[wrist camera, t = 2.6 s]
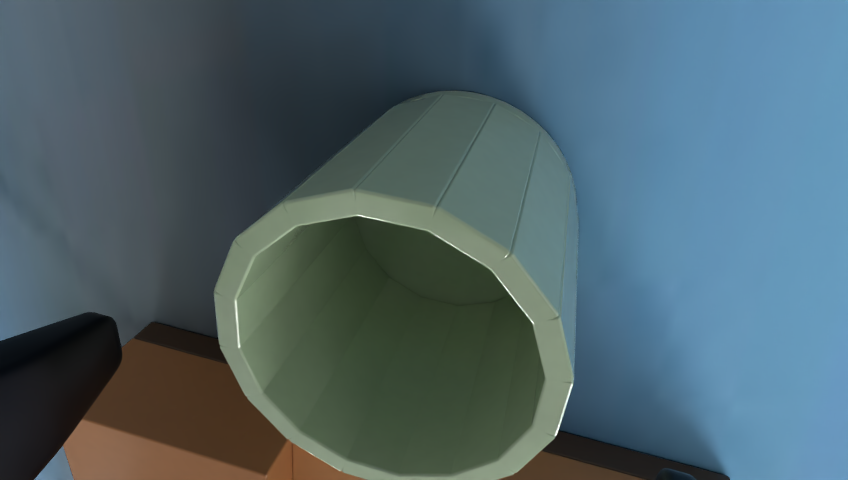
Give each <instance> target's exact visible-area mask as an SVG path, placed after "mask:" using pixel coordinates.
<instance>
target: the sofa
mask: <svg viewBox="0 0 848 480" xmlns="http://www.w3.org/2000/svg"><path fill="white" fill-rule="evenodd" d="M122 354H123V355H122V361H121V364H120V366H119V368H118V369H117V371H116V372H115V374H114V375H113V376H112V378H111V379H110V381H109V382H108V383H107V385H106V386H105V388H104V389H103V390H102V392H101V393H100V395H99V396H98V398H97V399H96V400H95V402H94V403H93V405H92V406H91V407H90V409H89V410H88V412H87V413H86V414H85V416H84V417H83V419H82V420H81V421H80V423H79V424H78V426H77V427H76V428H75V430H74V431H73V433H72V434H71V435H70V437H69V438H68V439H67V441H66V442H65V443H64V445H63V447H64V450H65V453H66V456H67V460H68V463H69V466H70V469H71V472H72V475H73V478H74V480H366V479H363V478H359V477H356V476H353V475H349V474H346V473H343V472H342V471H339V470H337V469H335V468H334V467H332V466H330V465H329V464H327V463H325V462H324V461H322V460H320V459H319V458H317V457H315V456H314V455H312V454H310V453H309V452H307V451H305V450H304V449H302V448H300V447H299V446H297V445H295V444H293V443H292V442H290V441H289V439H286V438H285V437H284V436H283V435H282V434H281V433H280V432H279V431H278V430H277V429H276V428H275V427H274V425H273V424H272V423H271V422H270V421H269V420H268V419H267V418H266V417H265V416H264V415H263V414H262V413H261V412H260V411H259V410H258V409H257V408H256V407H255V406H254V405H253V404H252V403H251V402H250V401H249V400H248V399H247V397H246V396H245V395H244V393H243V391H242V389H241V387H240V385H239V383H238V382H237V380H236V378H235V376H234V374H233V372H232V370H231V368H230V366H229V364H228V362H227V360H226V359H225V357H224V355H223V353H222V351H221V349H220V345H219V341H218V339H215V338H211V337H207V336H203V335H200V334H196V333H192V332H188V331H185V330H181V329H177V328H174V327H170V326H166V325H162V324H159V323H155V322H151V323H150V324H149V325H148V326H146V327H145V328H144V329H143V330H142V331H141V332H140V333H138V334H137V335H136V336H135V337H134V338H133V339H131V340H130V341H129V342H128V343H127V344H126V345H124V346H123V347H122ZM664 468H668V469H672V470H676V471H679V472H683V473H687V474H690V475H691V476H693V477H694V478H695V479H696V480H730V478H729V477H728V476H726V475H722V474H718V473H714V472H711V471H707V470H703V469H699V468H696V467H692V466H688V465H685V464H681V463H677V462H673V461H670V460H666V459H662V458H658V457H655V456H651V455H647V454H643V453H640V452H636V451H632V450H629V449H625V448H621V447H617V446H614V445H610V444H606V443H602V442H599V441H595V440H591V439H588V438H584V437H580V436H576V435H573V434H569V433H565V432H561V431H558V434H557V435H556V437H555V439H554V440H552V441H551V442H550V443H549V444H548V445H547V446H546V447H545V448H544V449H542V450H541V451H540V452H539V453H538V454H537V455H536V456H535V457H534V458H533V459H531V460H530V461H529V462H528V463H527V464H526V465H525V466H524V467H523V468H521V469H520V470H519V471H518V472H517V473H514V474H513V475H511V476H507V477H504V478H501V479H498V480H655V479H656V477H657V475H658V473H659V472H660V471H661V470H662V469H664Z"/></svg>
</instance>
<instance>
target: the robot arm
mask: <svg viewBox="0 0 848 480" xmlns="http://www.w3.org/2000/svg"><path fill="white" fill-rule="evenodd" d="M122 355H123V354H122V348H121V343H120V339H119V334H118V329H117V325H116V322H115V321H114V319H113V318H111V317H109V316H105V315H102V314H98V313H94V312H87V313H83V314H80V315H77V316H74V317H71V318H68V319H65V320H62V321H59V322H56V323H53V324H50V325H47V326H44V327H41V328H38V329H35V330H32V331H29V332H26V333H23V334H20V335H17V336H14V337H11V338H8V339H5V340H2V341H0V480H34V479H35V478H36V477H37V475H38V474H39V473H40V472H41V471H42V470H43V468H44V467H45V466H46V465H47V464H48V463H49V461H50V460H51V459H52V458H53V457H54V456H55V454H56V453H57V452H58V451H59V449H60V448H61V447H62V446H63V445H64V443H65V442H66V441H67V439H68V438H69V437H70V435H71V434H72V433H73V431H74V430H75V428H76V427H77V426H78V424H79V423H80V421H81V420H82V419H83V417H84V416H85V414H86V413H87V412H88V410H89V409H90V407H91V406H92V405H93V403H94V402H95V400H96V399H97V398H98V396H99V395H100V393H101V392H102V390H103V389H104V388H105V386H106V385H107V383H108V382H109V381H110V379H111V378H112V376H113V375H114V374H115V372H116V371H117V369H118V368H119V366H120V364H121V361H122ZM655 480H696V479H695V478H694V477H693V476H691V475H690V474H687V473H683V472H679V471H676V470H672V469H668V468H664V469H662V470H661V471H660V472H659V473H658V475H657V477H656V479H655Z"/></svg>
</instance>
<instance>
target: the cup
mask: <svg viewBox="0 0 848 480" xmlns="http://www.w3.org/2000/svg"><path fill="white" fill-rule="evenodd" d="M578 234H579V217H578V212H577V198H576V189H575V185H574V181H573V177H572V174H571V171H570V169H569V166H568V164H567V162H566V159H565V158H564V156H563V154H562V152H561V151H560V149H559V147H558V146H557V144H556V143H555V142H554V141H553V139H552V138H551V137H550V136H549V134H548V133H547V132H546V131H545V130H544V129H543V128H542V127H541V126H540V125H539V124H538V123H537V122H536V121H534V120H533V119H532V118H530V117H529V116H528V115H526V114H525V113H523V112H522V111H521V110H519V109H517V108H515V107H513V106H511V105H510V104H508V103H506V102H503V101H501V100H498V99H496V98H493V97H490V96H487V95H482V94H478V93H474V92H465V91H438V92H432V93H426V94H422V95H419V96H416V97H413V98H410V99H407V100H405V101H403V102H401V103H399V104H397V105H395V106H394V107H392V108H390V109H389V110H388V111H386V112H385V113H383V114H382V115H381V116H380V117H379V118H377V119H376V120H375V121H374V122H373V123H371V124H370V125H369V126H367V127H366V128H365V129H364V130H362V131H361V132H360V133H359V134H357V135H356V136H355V137H354V138H353V139H352V140H350V141H349V142H348V143H347V144H346V145H344V146H343V147H342V148H341V149H340V150H339V151H337V152H336V153H335V154H334V155H333V156H331V157H330V158H329V159H328V160H327V161H326V162H324V163H323V164H322V165H321V166H320V167H318V168H317V169H316V170H315V171H314V172H312V173H311V174H310V175H309V176H308V177H307V178H305V179H304V180H303V181H302V182H301V183H299V184H298V185H297V186H296V187H295V188H294V189H292V190H291V191H290V192H289V193H288V194H286V195H285V196H284V197H283V198H282V199H281V200H279V201H278V202H277V203H276V204H275V205H273V206H272V207H271V208H270V209H269V210H267V211H266V212H265V213H264V214H263V215H262V216H260V217H259V218H258V219H257V220H256V221H254V222H253V223H252V224H251V225H250V226H249V227H247V228H246V229H245V230H244V231H243V232H241V233H240V234H239V235H238V236H237V237H236V238H235V240H234V241H233V242H232V245H231V248H230V250H229V253H228V255H227V258H226V260H225V263H224V265H223V268H222V270H221V273H220V275H219V278H218V280H217V283H216V285H215V288H214V303H215V312H216V322H217V331H218V341H219V345H220V349H221V351H222V353H223V355H224V357H225V359H226V360H227V362H228V364H229V366H230V368H231V370H232V372H233V374H234V376H235V378H236V380H237V382H238V383H239V385H240V387H241V389H242V391H243V393H244V395H245V396H246V397H247V399H248V400H249V401H250V402H251V403H252V404H253V405H254V406H255V407H256V408H257V409H258V410H259V411H260V412H261V413H262V414H263V415H264V416H265V417H266V418H267V419H268V420H269V421H270V422H271V423H272V424H273V425H274V427H275V428H276V429H277V430H278V431H279V432H280V433H281V434H282V435H283V436H284V437H285V438H286V439H289V441H290V442H292V443H293V444H295V445H297V446H299V447H300V448H302V449H304V450H305V451H307V452H309V453H310V454H312V455H314V456H315V457H317V458H319V459H320V460H322V461H324V462H325V463H327V464H329V465H330V466H332V467H334V468H335V469H337V470H339V471H342V472H343V473H346V474H349V475H353V476H356V477H359V478H363V479H366V480H498V479H501V478H504V477H507V476H511V475H513V474H514V473H517V472H518V471H519V470H520V469H521V468H523V467H524V466H525V465H526V464H527V463H528V462H529V461H530V460H531V459H533V458H534V457H535V456H536V455H537V454H538V453H539V452H540V451H541V450H542V449H544V448H545V447H546V446H547V445H548V444H549V443H550V442H551V441H552V440H554V439H555V437H556V435H557V434H558V431H559V428H560V425H561V422H562V419H563V416H564V413H565V409H566V406H567V403H568V400H569V397H570V394H571V391H572V388H573V385H574V366H575V333H576V300H577V267H578Z"/></svg>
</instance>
